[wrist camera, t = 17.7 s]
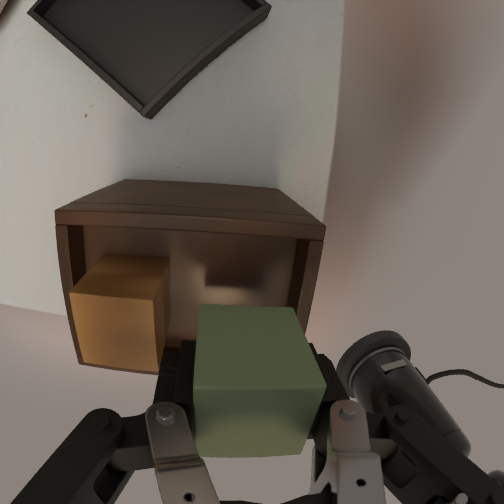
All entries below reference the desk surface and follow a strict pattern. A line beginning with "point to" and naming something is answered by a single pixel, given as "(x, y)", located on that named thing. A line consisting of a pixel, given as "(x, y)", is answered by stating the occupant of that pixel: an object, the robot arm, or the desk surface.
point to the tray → (148, 40)
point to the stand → (196, 246)
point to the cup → (2, 4)
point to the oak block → (123, 311)
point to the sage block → (253, 382)
